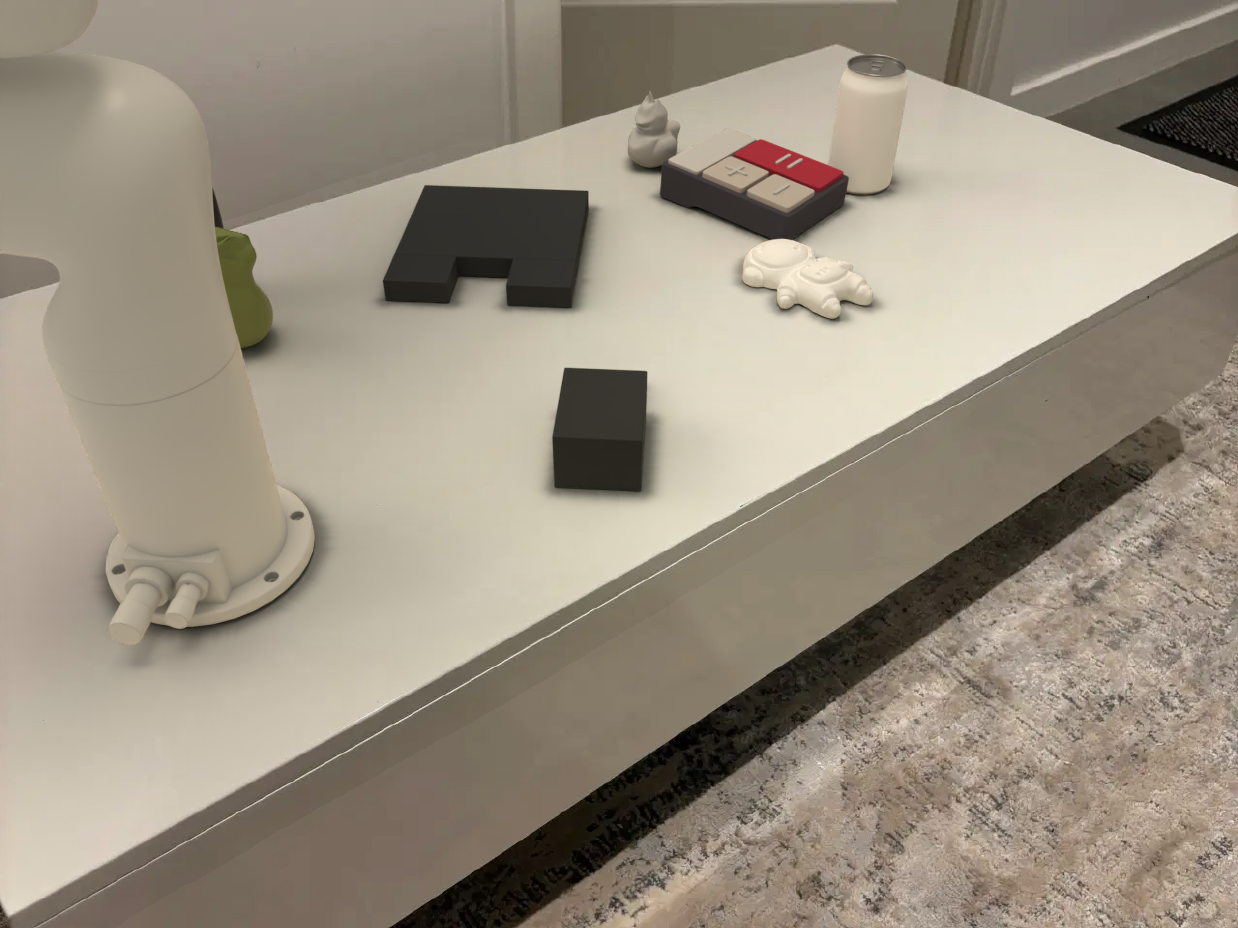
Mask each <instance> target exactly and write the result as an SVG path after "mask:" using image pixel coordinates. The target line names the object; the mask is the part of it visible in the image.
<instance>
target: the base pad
mask: <svg viewBox="0 0 1238 928" xmlns="http://www.w3.org/2000/svg"><path fill="white" fill-rule="evenodd" d="M589 201H590V198H589V190H579V189H578V190H577V189H552V188H551V189H549V188H523V187H520V188H519V187H491V186H464V185H461V186H460V185H436V184H435V185H433V184H425V185H424V186H423V188H422V191H421V192H420V195H419V197H418V199H417V202H416V203H415V206H414V209H413V211H412V213H411V215H410V217H409V220H408V223H407V224H406V227H405V229H404V232H403V233H402V236H401V238H400V240H399V243H398V245H397V247H396V249H395V252H394V254H393V256H392V258H391V261H390V262H389V265H388V267H387V270H386V272H385V274H384V277H383V279H382V285H383V292H384V298H385V301H388V302H389V301H390V302H411V303H412V302H416V303H439V304H440V303H443V304H450V301H451V299H452V295H453V292H454V290H455V286H456V284H457V280H458V277H477V278H478V277H479V278H480V277H481V278H506V279H507V280H506V283H505V291H506V305H507V306H514V307H515V306H516V307H517V306H518V307H539V308H541V307H543V308H567V309H569V308H570V309H572V306H573V302H574V295H575V289H576V285H577V277H578V272H579V266H580V262H581V254H582V250H583V245H584V244H583V243H584V238H585V232H586V228H587V221H588V215H589V209H590V202H589Z"/></svg>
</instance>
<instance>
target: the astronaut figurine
mask: <svg viewBox="0 0 1238 928" xmlns="http://www.w3.org/2000/svg"><path fill="white" fill-rule="evenodd" d="M853 269H854V265H853V263H851V262H848V261H844V260H838V259H835V258H830V257H818V258H816V253H815V251H814V249H813V248H812V247H811V246H809V245H806V244H803V243H801V242H798V241H796V240H793V239H792V240H788V239H774V240H772V239H770V240H765V241H764V242H761V243H759V244H758V245H755V246H754V247H752V248H751V249H750V250H749V251H748V252H747V254H746V255H745V258H744V260H743V262H742V274H741V279H742V281H743V283H744V284H745V285H747V286H750V287H753V288H766V289H771V290H775V291H776V301H777V305H778V307H779V308H780V309H783V310H787V309H790V308H792V307H793V306H795V305H796V304H798V305H801V306H803V307H805V308H807V309H808V310H810V311H811V312H813V313H815V314H817V315H819V316H822V317H824V318H827V319H832V320H833V319H836V318H838V317H839V316H840V314H841V312H842V306H841V301H848V302H851V303H854V304H856V305H860V306H869V305H870V304H871V303H872V301H873V298H874V292H873V290H872V286H871V285H870V284H868V282H867V280H866V279H865V278H864V276H861V275H859V274H858V273H856V272H854V271H853Z"/></svg>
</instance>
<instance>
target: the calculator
mask: <svg viewBox="0 0 1238 928" xmlns="http://www.w3.org/2000/svg"><path fill="white" fill-rule="evenodd" d="M843 173H844V172H843V171H842V170H839V169H837V168H834V167H832V166H829V165H828V164H827V163H824V162H821V161H819V160H816V159H813V158H811V157H808V156H806V155H803V154H801V153H798V152H795V151H793V150H791V149H788V148H785V147H783V146H780V145H778V144H775V143H773V142H770V141H768V140H766V139H763V138H762V139H761V138H760V139H756V138H755V137H753V136H751V135H748V134H745V133H742V132H740V131H737V130H735V129H733V128H730V127H726V128H724V129H722V130H720V131H718V132H717V133H715V134H712V135H711V136H708V137H706V138H705V139H703V140H701V141H699V142H698V143H696V144H694V145H692V146H690V147H688V148H686V149H684V150H682V151H681V152H679V153H676V155H675V156H673V157H671V158H670V159H668V160H666V161H664V162H663V163H662V165H661V175H660V185H659V186H660V188H659V196H660V197H662V198H664V199H666V200H668V201H670V202H671V201H672V202H674V203H676V204H678V205H680V206H682V207H684V208H687V209H689V208H694V207H698V208H700V209H702V210H704V211H706V212H708V213H711V214H714V215H715V216H718V217H720V218H723V219H724V220H727V221H729V222H732V223H733V224H736V225H738V226H740V227H743V228H745V229H748V230H749V231H752V232H754V233H756V234H758V235H761V236H763V237H765V238H768V239H770V240H774V239H788V240H793V239H795V238H796V237H798V236H799V235H801V234H802V233H804V232H805V231H806V230H809V228H811V227H812V226H814V225H816V224H817V223H818V222H820V221H822V220H823V219H825V218H826V217H827V216H829V215H830V214H832V213H833V212H835V211H837V209H839V208H840V207H842V206H843V205H844V204H845V201H846V197H847V196H846V195H847V193H846V191H847V186H848V181H849V177H848V176H846V175H844V174H843Z"/></svg>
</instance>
